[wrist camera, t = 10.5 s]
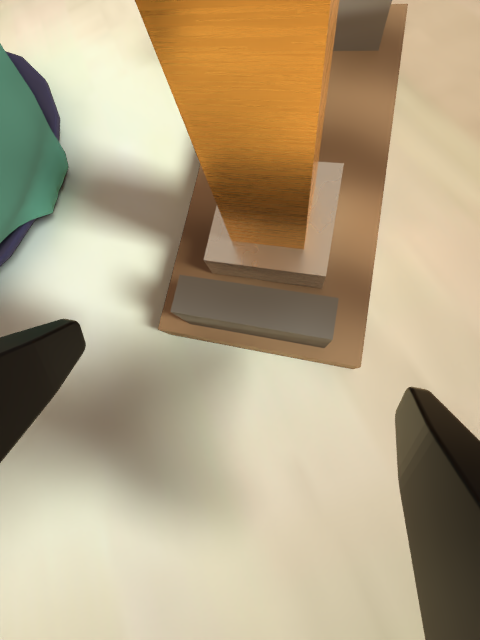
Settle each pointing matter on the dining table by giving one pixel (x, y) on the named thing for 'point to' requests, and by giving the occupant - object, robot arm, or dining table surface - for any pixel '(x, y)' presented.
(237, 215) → the orange wooden beam
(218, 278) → the brown piece
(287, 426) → the dining table surface
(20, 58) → the cutlery set
